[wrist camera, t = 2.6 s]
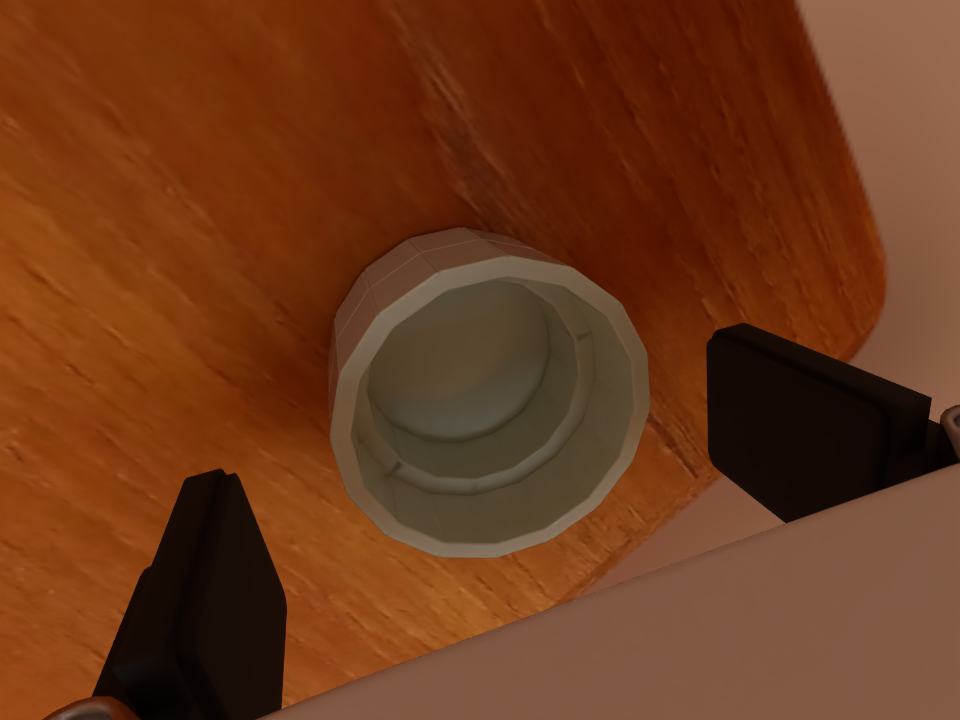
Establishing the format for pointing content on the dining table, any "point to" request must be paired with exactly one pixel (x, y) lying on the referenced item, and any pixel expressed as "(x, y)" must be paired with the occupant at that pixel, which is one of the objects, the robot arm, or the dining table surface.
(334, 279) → the dining table surface
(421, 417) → the bowl
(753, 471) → the robot arm
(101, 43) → the dining table surface
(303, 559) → the dining table surface
